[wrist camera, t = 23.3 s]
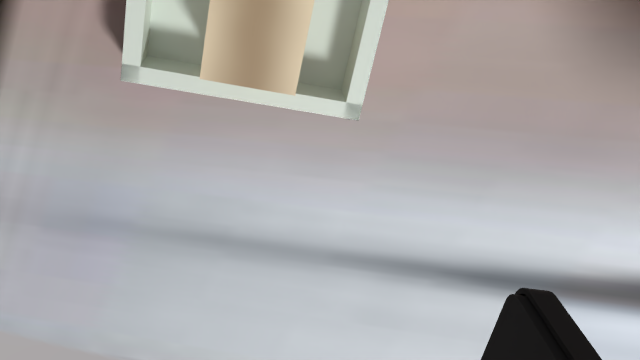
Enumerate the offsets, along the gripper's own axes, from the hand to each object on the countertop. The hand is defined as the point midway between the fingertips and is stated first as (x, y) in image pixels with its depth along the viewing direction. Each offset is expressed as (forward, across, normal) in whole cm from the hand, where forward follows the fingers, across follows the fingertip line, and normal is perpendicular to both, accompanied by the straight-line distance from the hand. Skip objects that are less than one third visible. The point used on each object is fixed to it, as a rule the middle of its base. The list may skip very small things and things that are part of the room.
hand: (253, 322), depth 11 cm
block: (+28, 0, 0) cm, 28 cm away
